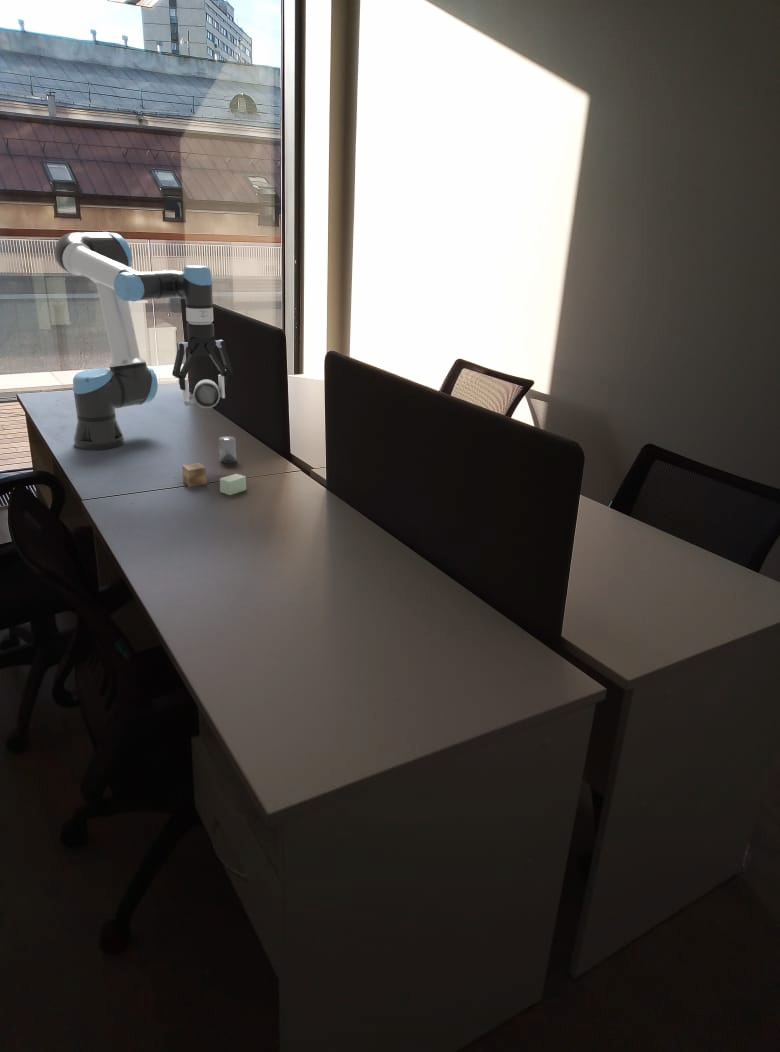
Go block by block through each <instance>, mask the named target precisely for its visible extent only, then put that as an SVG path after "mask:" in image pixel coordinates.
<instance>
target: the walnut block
mask: <svg viewBox="0 0 780 1052" xmlns="http://www.w3.org/2000/svg"><path fill="white" fill-rule="evenodd" d="M181 467H182V480H183V481H182V482H183V483H184V484H185V485H187V486H188V487H189V488H192V487H198V486H203V485H207V484H208V483H207V468H206V466H205V465H203V464H202V463H200V462H196V463H190V464H183V465H182V466H181Z"/></svg>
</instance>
